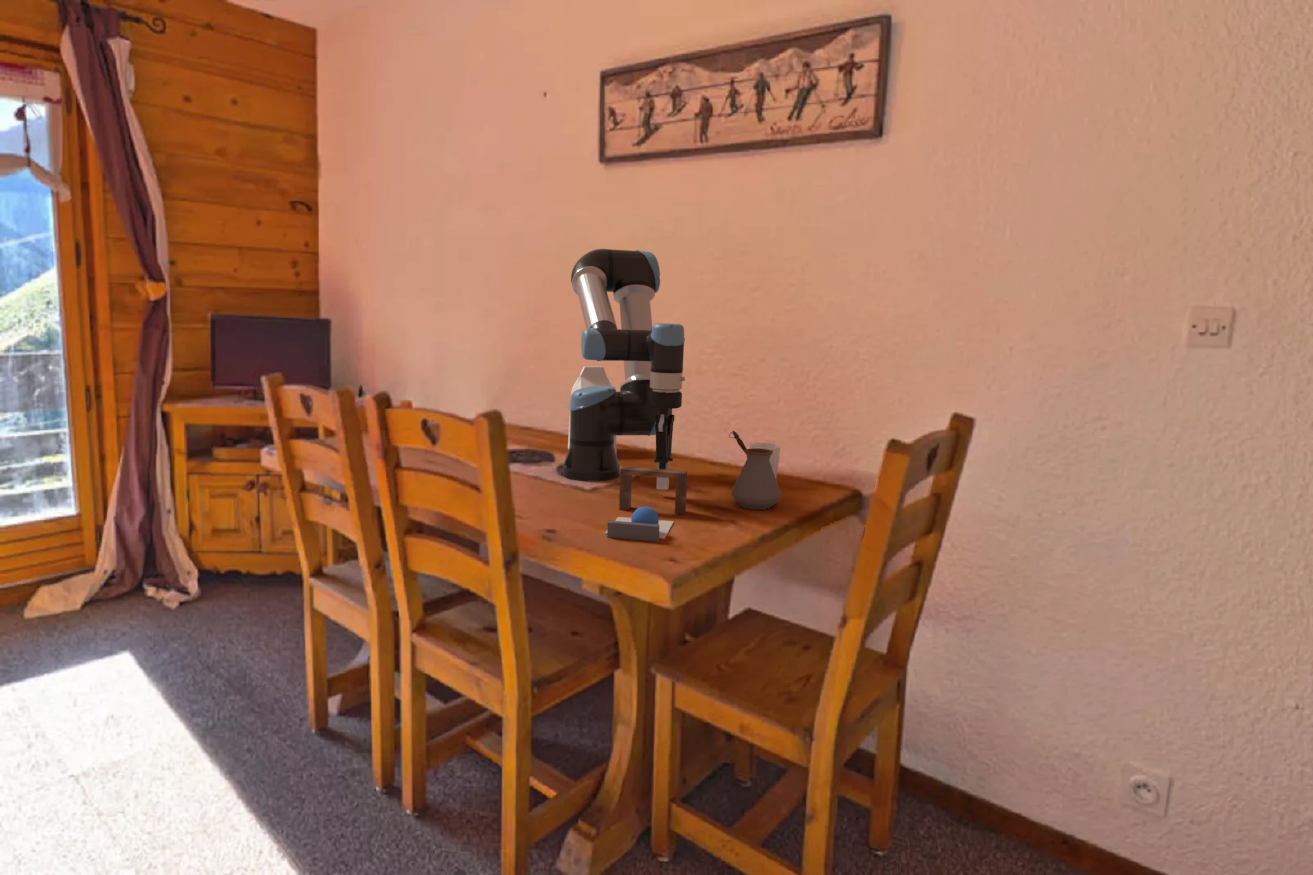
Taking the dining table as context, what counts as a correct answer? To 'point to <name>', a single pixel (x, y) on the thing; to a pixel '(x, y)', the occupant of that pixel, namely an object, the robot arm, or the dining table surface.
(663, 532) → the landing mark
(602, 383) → the milk
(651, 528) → the stopper wall
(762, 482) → the coffee pot
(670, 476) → the bridge
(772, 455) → the white cup
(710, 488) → the dining table surface
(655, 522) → the ball
